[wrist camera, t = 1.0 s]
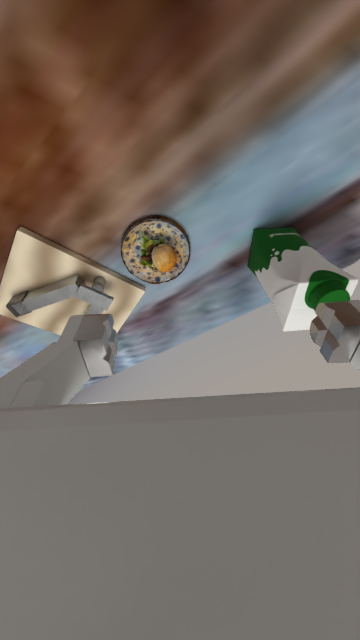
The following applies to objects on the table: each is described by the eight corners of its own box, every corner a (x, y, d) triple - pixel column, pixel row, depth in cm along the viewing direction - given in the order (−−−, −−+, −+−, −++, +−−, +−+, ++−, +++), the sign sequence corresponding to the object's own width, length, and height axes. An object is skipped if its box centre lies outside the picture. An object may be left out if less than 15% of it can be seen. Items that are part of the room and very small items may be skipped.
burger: (115, 217, 42) (110, 236, 36) (189, 211, 42) (195, 229, 37) (128, 282, 50) (125, 305, 44) (190, 276, 50) (196, 299, 44)
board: (-5, 306, 50) (-8, 311, 49) (20, 226, 41) (17, 229, 40) (105, 345, 59) (104, 350, 58) (145, 287, 50) (145, 291, 49)
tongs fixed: (86, 268, 45) (81, 283, 42) (117, 283, 47) (114, 298, 44) (55, 331, 53) (48, 348, 50) (82, 341, 56) (78, 357, 52)
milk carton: (299, 221, 45) (378, 284, 30) (286, 268, 51) (346, 341, 36) (249, 223, 44) (302, 289, 29) (241, 271, 50) (283, 346, 35)
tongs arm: (78, 272, 45) (74, 282, 43) (86, 285, 47) (83, 294, 44) (12, 296, 47) (5, 306, 44) (22, 307, 48) (16, 317, 46)
